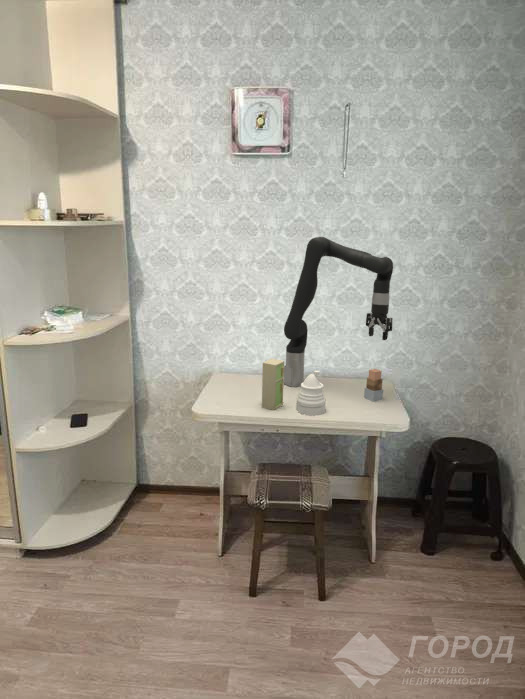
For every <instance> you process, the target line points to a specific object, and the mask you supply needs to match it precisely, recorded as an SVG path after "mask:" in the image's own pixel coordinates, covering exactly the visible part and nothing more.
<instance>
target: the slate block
mask: <svg viewBox="0 0 525 699" xmlns="http://www.w3.org/2000/svg"><path fill="white" fill-rule="evenodd" d="M363 398H365V399H367V400H366V401H368V400H369V401H368V402H370V401H372V402H374V403H377V402H376V401H378V402H381V401H380V400H382V399H383V400H384V389H383V388H382V390H377V391H372V390H369V389H367V388H366V387H364V393H363ZM365 399H364V400H365ZM383 400H382V401H383ZM372 402H371V403H372Z"/></svg>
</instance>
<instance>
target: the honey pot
mask: <svg viewBox="0 0 525 699" xmlns="http://www.w3.org/2000/svg"><path fill="white" fill-rule="evenodd" d="M320 372H321V371H320V370H314V371H313V373H310V374H309V375H308V376H306V378H305V379H304V380H303V383H301V386H300V389H299V391H298V392H299V393H298V394H297V396H296V402H295V404H296V405H295V411H296V410H297V411H298V412H299V414H301V415H304V414H305V416H312V415H313V416H320V414H321V415H323V414H325V413H326V401H327V400H326V398H325V392H324V391H323V388H324V384H323V383H321V382H320V380H319V378H318V376H319V375H320ZM297 411H296V412H297Z"/></svg>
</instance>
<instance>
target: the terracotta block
mask: <svg viewBox="0 0 525 699" xmlns="http://www.w3.org/2000/svg"><path fill="white" fill-rule="evenodd" d="M367 378H369V379H372V380H379V379H382V370H380V369H377V368H373V369H372V368H371V369H368V377H367Z"/></svg>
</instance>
